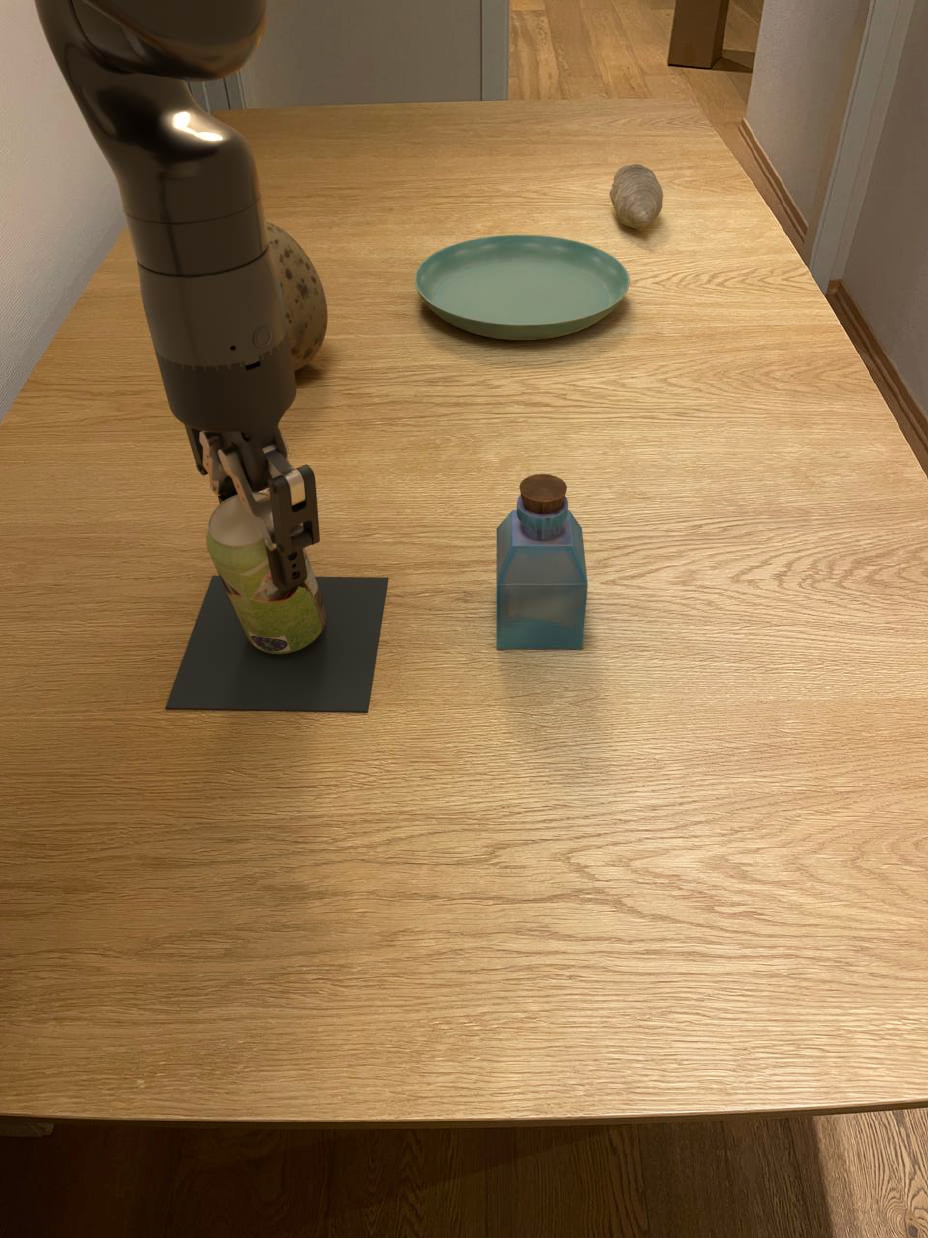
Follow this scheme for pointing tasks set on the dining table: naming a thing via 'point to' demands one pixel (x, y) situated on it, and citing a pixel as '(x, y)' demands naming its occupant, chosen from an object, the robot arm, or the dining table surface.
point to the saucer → (521, 286)
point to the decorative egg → (299, 296)
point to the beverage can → (262, 583)
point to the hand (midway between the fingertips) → (267, 558)
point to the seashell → (636, 195)
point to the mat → (284, 656)
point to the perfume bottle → (540, 570)
